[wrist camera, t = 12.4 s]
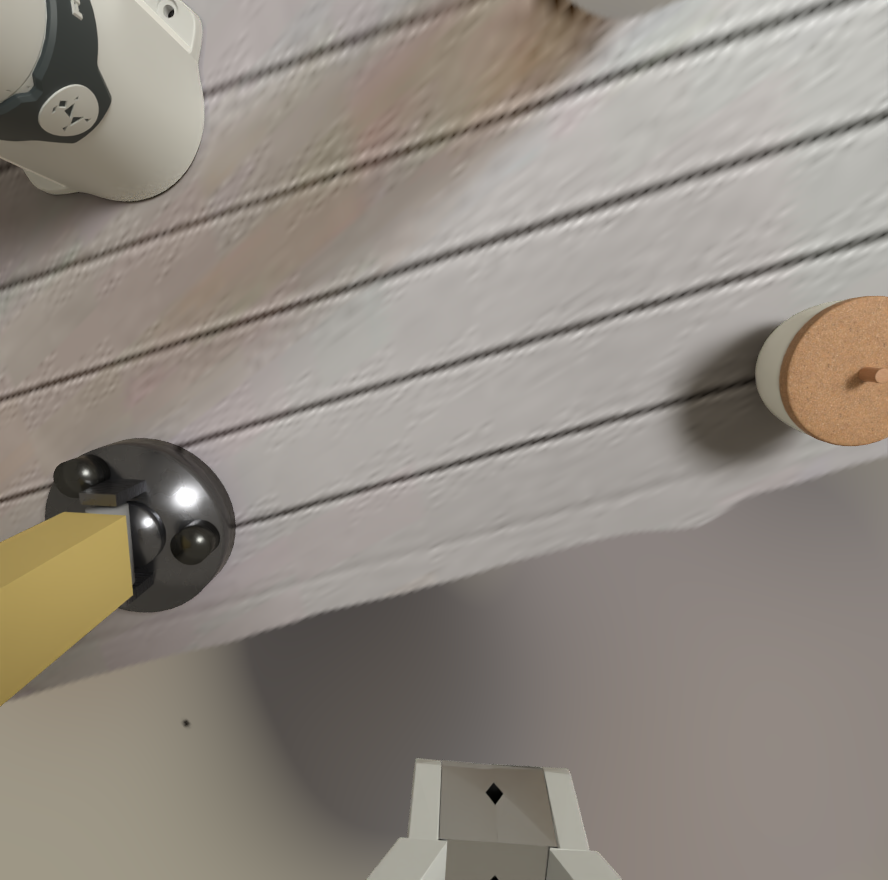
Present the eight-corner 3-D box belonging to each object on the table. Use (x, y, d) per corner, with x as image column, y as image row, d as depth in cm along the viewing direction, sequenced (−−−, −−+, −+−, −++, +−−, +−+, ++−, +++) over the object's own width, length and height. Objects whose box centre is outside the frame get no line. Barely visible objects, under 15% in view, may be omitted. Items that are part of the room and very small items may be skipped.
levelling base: (79, 590, 51) (20, 631, 44) (60, 433, 48) (-7, 451, 41) (238, 600, 51) (204, 643, 44) (232, 443, 47) (193, 463, 40)
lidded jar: (771, 280, 43) (856, 268, 34) (885, 329, 43) (998, 331, 34) (709, 398, 45) (772, 418, 36) (817, 444, 46) (907, 474, 37)
